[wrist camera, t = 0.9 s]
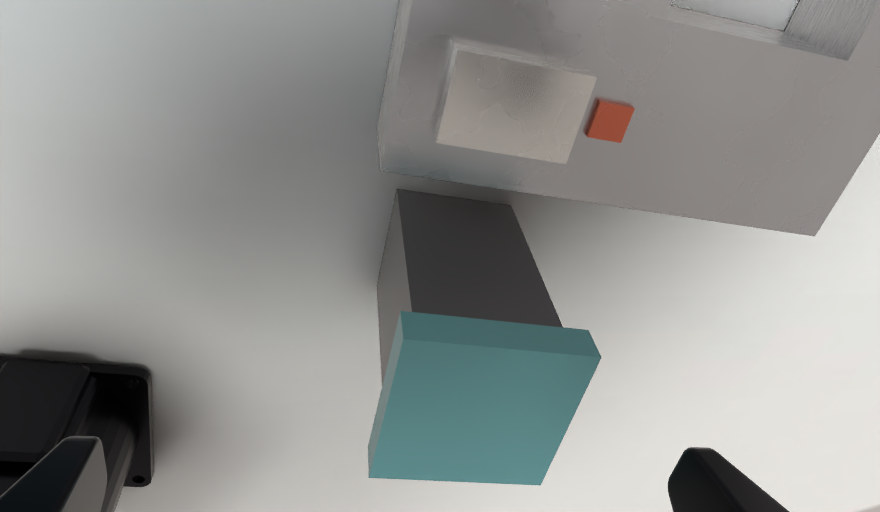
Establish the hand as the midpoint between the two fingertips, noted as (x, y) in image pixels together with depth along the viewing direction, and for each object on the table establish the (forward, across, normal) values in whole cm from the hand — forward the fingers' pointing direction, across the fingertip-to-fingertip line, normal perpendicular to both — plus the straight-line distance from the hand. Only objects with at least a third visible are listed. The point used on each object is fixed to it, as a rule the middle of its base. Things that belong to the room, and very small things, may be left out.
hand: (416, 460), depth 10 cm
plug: (+12, -3, +4) cm, 13 cm away
